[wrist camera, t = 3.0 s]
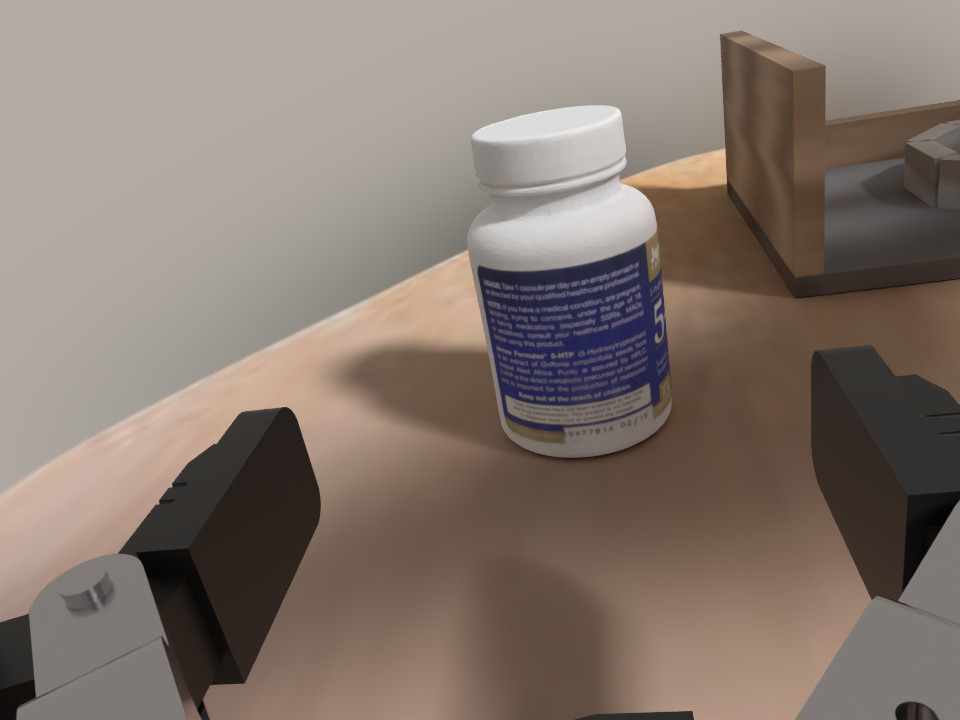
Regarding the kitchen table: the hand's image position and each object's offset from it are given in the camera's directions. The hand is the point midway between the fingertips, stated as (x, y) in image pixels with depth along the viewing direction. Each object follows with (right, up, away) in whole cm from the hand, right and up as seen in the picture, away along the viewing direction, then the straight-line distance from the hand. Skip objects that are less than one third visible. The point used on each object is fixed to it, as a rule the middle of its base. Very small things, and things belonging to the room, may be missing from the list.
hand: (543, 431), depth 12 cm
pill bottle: (+2, -1, +12) cm, 12 cm away
